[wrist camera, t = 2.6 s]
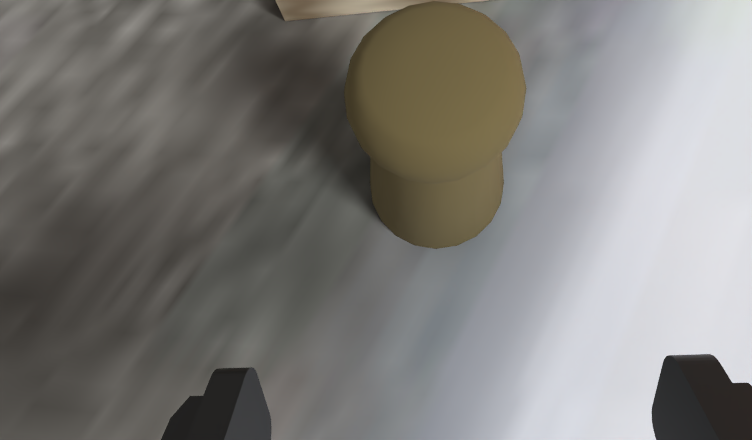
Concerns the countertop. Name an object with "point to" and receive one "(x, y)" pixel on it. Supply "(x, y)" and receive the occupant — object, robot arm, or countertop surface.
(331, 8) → the peg board
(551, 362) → the countertop surface
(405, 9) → the cork
